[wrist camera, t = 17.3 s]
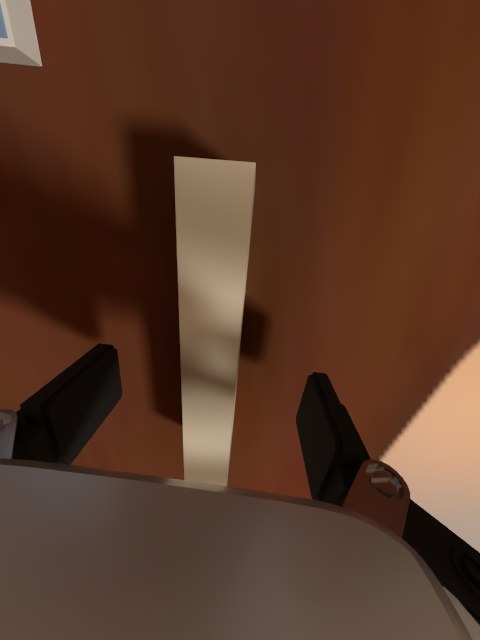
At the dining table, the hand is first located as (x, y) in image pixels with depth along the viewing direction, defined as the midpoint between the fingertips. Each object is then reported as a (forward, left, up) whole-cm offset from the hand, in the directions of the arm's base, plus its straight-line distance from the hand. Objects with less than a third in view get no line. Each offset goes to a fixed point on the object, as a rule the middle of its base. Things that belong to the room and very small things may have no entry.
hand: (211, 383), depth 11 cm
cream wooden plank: (+1, 0, -3) cm, 3 cm away
